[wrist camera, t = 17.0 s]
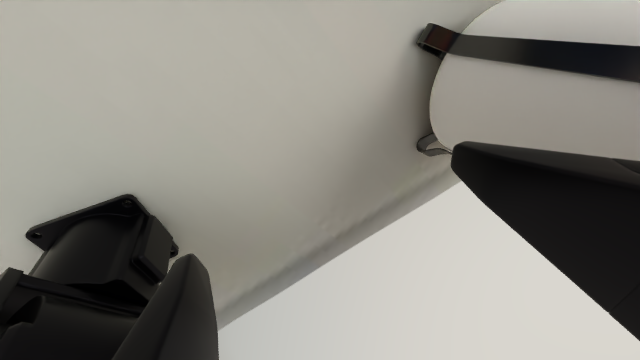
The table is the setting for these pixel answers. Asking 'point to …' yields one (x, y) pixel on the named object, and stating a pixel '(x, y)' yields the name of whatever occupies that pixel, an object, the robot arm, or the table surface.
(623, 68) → the coffee press
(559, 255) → the robot arm
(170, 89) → the table surface
